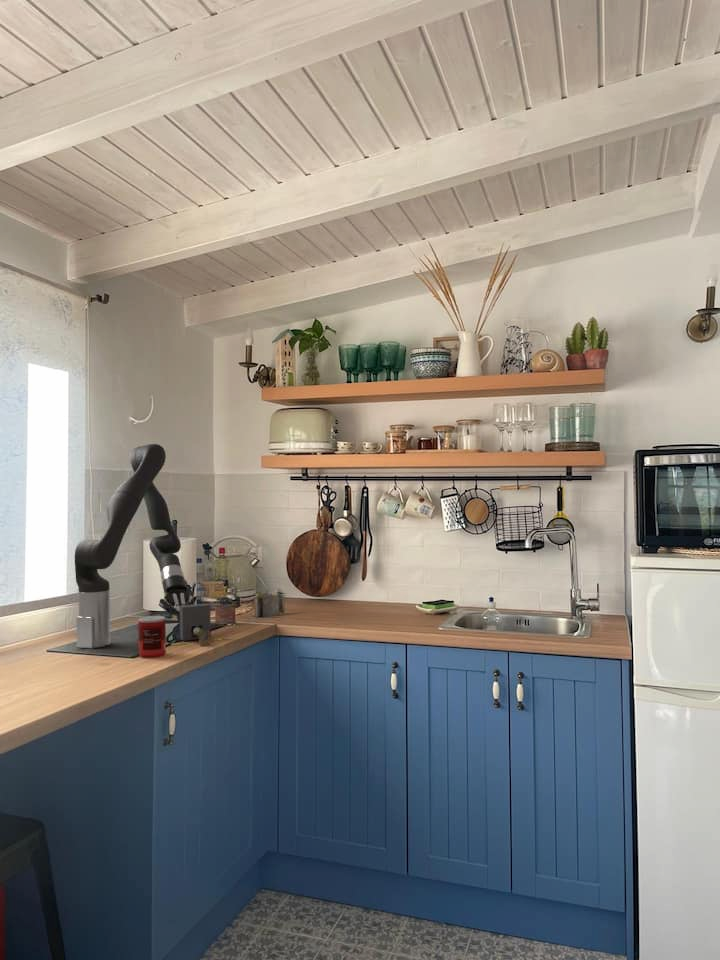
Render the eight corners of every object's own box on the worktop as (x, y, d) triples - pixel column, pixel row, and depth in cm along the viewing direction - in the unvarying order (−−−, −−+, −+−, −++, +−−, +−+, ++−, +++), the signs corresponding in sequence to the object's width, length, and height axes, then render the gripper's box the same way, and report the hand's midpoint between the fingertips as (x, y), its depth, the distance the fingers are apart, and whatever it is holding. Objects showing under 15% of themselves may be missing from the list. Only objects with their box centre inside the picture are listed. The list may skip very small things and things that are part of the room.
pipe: (159, 636, 246) (159, 623, 246) (212, 630, 254) (212, 618, 254) (176, 649, 226) (176, 635, 226) (233, 642, 234) (233, 629, 234)
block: (180, 638, 240) (179, 605, 240) (207, 635, 244) (206, 603, 244) (183, 640, 236) (182, 607, 236) (210, 637, 240) (210, 605, 241)
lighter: (237, 624, 267) (237, 596, 267) (233, 625, 264) (233, 597, 264) (217, 623, 269) (217, 595, 269) (213, 625, 266) (212, 597, 266)
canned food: (155, 651, 223) (154, 614, 223) (171, 654, 218) (170, 617, 218) (133, 656, 217) (132, 618, 217) (149, 659, 212) (148, 621, 212)
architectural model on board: (258, 618, 280) (257, 593, 280) (254, 617, 283) (254, 592, 283) (285, 615, 286) (284, 590, 286) (281, 614, 288) (281, 589, 289)
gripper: (155, 575, 247) (164, 617, 236) (194, 572, 253) (205, 613, 242) (152, 589, 251) (160, 631, 240) (190, 586, 257) (200, 627, 246)
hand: (183, 622), depth 241 cm, fingers closed
